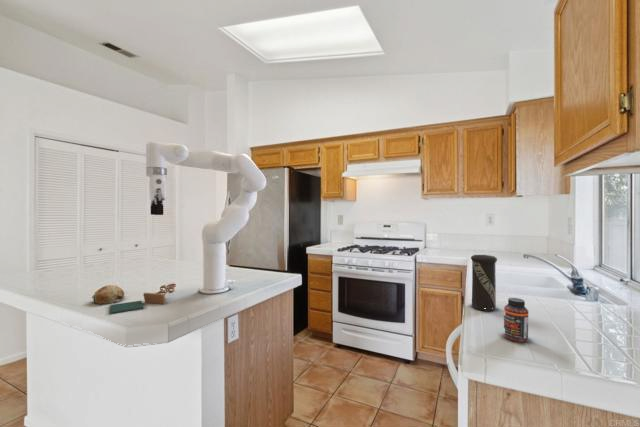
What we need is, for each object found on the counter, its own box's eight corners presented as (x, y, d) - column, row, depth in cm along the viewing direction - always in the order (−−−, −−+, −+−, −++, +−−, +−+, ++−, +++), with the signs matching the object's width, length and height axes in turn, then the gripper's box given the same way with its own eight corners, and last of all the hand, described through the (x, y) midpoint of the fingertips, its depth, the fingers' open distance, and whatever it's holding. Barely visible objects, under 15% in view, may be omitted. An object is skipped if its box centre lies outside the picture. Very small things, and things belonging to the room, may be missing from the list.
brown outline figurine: (164, 303, 119) (183, 288, 130) (162, 294, 118) (182, 280, 129) (145, 302, 121) (165, 287, 132) (143, 293, 120) (164, 279, 131)
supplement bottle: (500, 338, 87) (501, 299, 87) (506, 332, 92) (507, 295, 91) (525, 345, 83) (525, 303, 83) (530, 338, 87) (530, 299, 87)
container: (473, 310, 112) (473, 256, 112) (468, 303, 120) (469, 252, 120) (499, 312, 109) (500, 257, 109) (493, 305, 118) (493, 253, 118)
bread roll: (107, 314, 117) (116, 295, 117) (83, 302, 117) (92, 283, 117) (124, 305, 127) (132, 288, 127) (102, 295, 127) (110, 278, 127)
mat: (141, 302, 121) (141, 300, 121) (143, 308, 113) (143, 307, 113) (110, 306, 115) (110, 304, 115) (110, 313, 107) (110, 312, 107)
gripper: (170, 171, 119) (171, 215, 120) (163, 175, 133) (163, 214, 134) (149, 169, 115) (149, 215, 115) (143, 174, 129) (143, 214, 129)
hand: (156, 214), depth 124 cm, fingers open, 9 cm apart
